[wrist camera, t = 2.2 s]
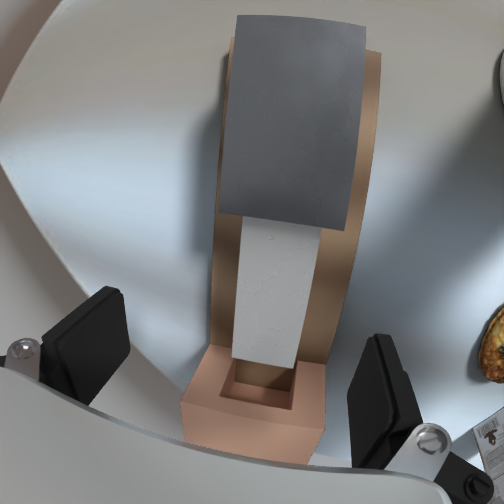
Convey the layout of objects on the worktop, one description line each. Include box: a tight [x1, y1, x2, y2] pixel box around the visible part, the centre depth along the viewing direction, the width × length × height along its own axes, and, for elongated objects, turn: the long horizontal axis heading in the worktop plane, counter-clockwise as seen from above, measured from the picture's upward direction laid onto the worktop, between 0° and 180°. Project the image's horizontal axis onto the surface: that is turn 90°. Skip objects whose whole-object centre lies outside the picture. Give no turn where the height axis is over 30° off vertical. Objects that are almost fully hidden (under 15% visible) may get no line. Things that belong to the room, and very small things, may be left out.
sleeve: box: [218, 15, 366, 231], centre depth 15 cm, size 10×6×6 cm, turn 175°
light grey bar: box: [232, 216, 322, 369], centre depth 17 cm, size 18×4×4 cm, turn 175°
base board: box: [210, 37, 381, 392], centre depth 22 cm, size 30×10×2 cm, turn 175°
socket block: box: [180, 344, 326, 465], centre depth 22 cm, size 6×10×7 cm, turn 85°
